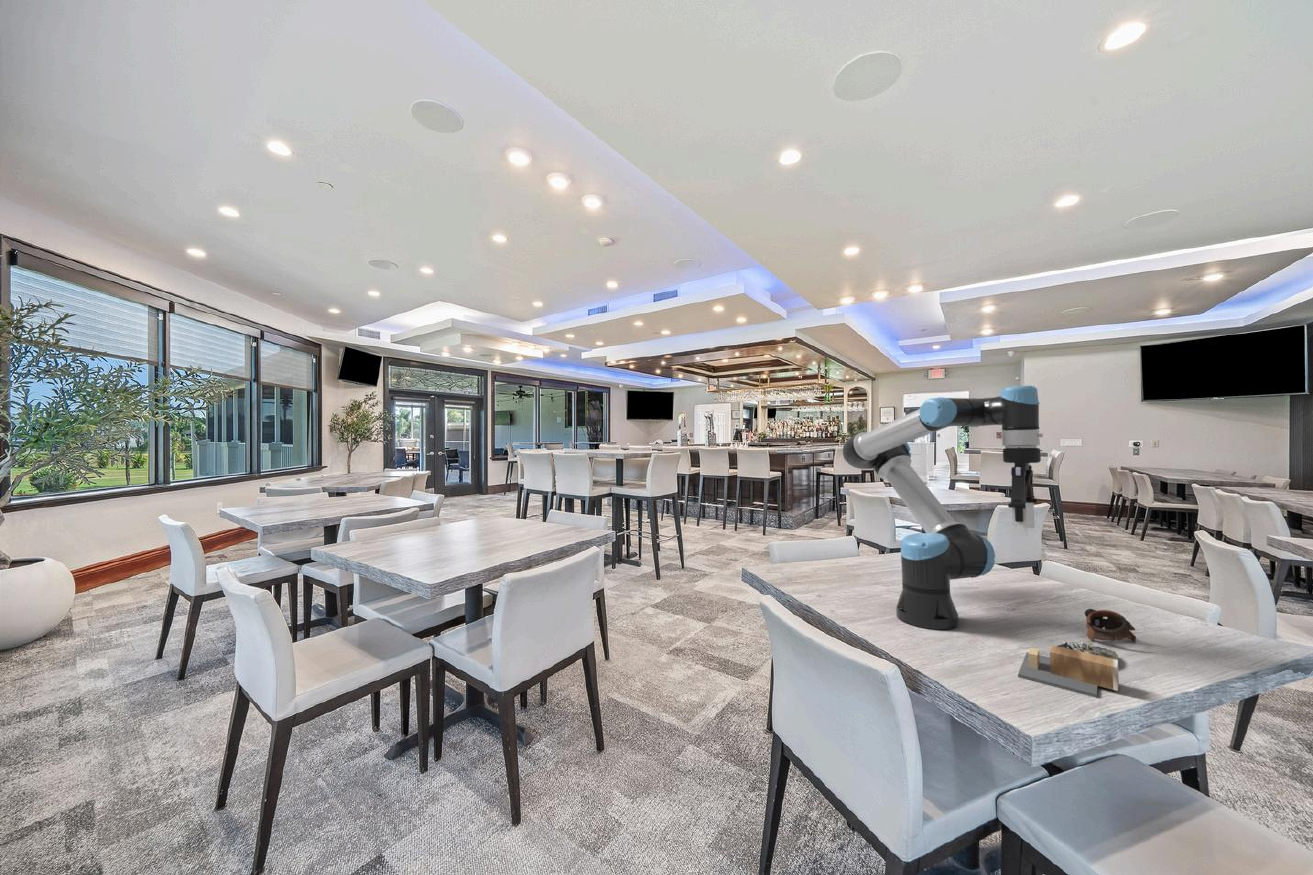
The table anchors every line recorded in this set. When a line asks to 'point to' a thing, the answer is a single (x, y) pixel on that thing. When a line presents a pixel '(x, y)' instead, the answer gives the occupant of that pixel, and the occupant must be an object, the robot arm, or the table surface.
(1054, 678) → the board
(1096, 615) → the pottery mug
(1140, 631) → the table surface
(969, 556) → the robot arm
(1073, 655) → the teak block
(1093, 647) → the oyster shell
